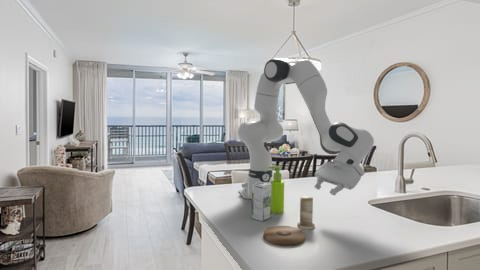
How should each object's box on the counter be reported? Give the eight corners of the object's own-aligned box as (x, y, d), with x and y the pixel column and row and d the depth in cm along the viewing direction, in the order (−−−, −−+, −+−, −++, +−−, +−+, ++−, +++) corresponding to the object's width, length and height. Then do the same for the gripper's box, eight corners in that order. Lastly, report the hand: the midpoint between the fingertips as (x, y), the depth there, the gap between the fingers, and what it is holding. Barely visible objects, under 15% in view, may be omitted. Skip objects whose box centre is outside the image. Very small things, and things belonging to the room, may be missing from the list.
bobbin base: (256, 232, 108) (256, 228, 108) (290, 227, 113) (290, 223, 113) (275, 248, 95) (275, 244, 95) (313, 242, 100) (313, 237, 100)
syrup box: (259, 215, 127) (259, 181, 126) (271, 218, 123) (271, 183, 122) (251, 218, 122) (251, 183, 121) (263, 222, 119) (263, 185, 118)
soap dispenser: (265, 210, 133) (266, 165, 132) (279, 208, 136) (280, 164, 135) (271, 214, 128) (272, 167, 127) (286, 212, 130) (286, 166, 129)
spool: (294, 224, 116) (294, 196, 115) (308, 222, 118) (308, 194, 118) (303, 230, 110) (304, 200, 109) (318, 228, 112) (318, 199, 112)
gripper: (323, 155, 128) (303, 180, 125) (359, 162, 109) (336, 192, 106) (332, 165, 130) (312, 190, 127) (368, 174, 111) (346, 203, 108)
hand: (323, 191), depth 116 cm, fingers open, 8 cm apart
